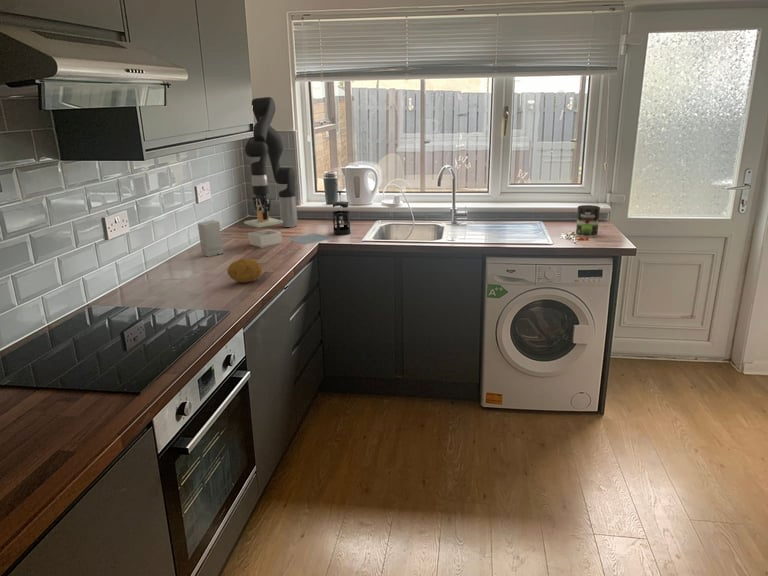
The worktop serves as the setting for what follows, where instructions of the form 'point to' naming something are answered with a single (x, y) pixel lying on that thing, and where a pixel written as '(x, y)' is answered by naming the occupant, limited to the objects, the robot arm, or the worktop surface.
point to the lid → (262, 220)
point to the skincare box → (210, 238)
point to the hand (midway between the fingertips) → (263, 218)
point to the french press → (346, 219)
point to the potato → (244, 270)
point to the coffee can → (587, 221)
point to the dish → (265, 238)
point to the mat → (309, 238)
